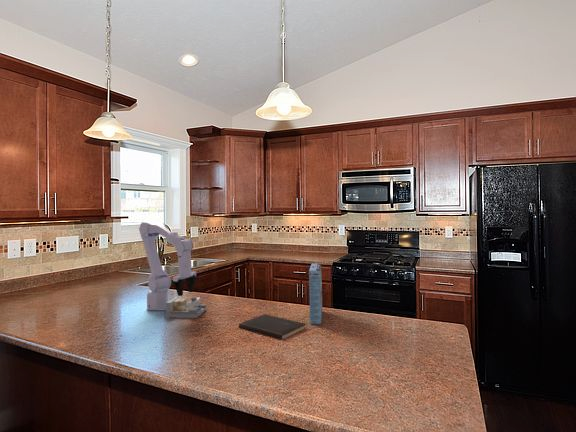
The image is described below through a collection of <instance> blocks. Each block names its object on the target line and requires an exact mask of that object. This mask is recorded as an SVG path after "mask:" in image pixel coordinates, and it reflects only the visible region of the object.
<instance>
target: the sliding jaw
mask: <svg viewBox="0 0 576 432" xmlns="http://www.w3.org/2000/svg"><path fill="white" fill-rule="evenodd" d="M201 301H202V300H201V297H196V296H193V297H192V298H190V300H189V301H187V311H197V310H198V309H199V308H201V305H202V304H201Z"/></svg>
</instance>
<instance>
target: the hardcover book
mask: <svg viewBox="0 0 576 432" xmlns="http://www.w3.org/2000/svg"><path fill="white" fill-rule="evenodd" d="M306 325H307V323H303V322H300V321H295V320H291V319H287V318H284V317H283V318H282V317H278V316H274V315H269V314H266V313H264V314H260V315H258V316H256V317H253V318H249V319H248V320H244V321H242V322H239V323H238V328H239V329H242V330H245V331H249V332H252V333H255V334H256V333H257V334H258V335H259V334H260V335H263V336H266V337H270V338H273V339H277V340H281V341H282V340H284V339H286V338H288V337H290V336H292V335H294V334H296V333H298V332H300V331H302V330H305V329H306Z"/></svg>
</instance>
